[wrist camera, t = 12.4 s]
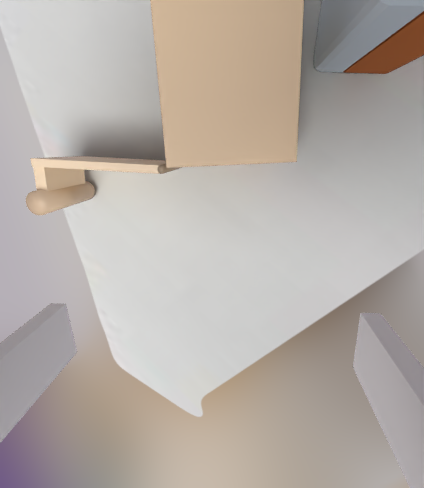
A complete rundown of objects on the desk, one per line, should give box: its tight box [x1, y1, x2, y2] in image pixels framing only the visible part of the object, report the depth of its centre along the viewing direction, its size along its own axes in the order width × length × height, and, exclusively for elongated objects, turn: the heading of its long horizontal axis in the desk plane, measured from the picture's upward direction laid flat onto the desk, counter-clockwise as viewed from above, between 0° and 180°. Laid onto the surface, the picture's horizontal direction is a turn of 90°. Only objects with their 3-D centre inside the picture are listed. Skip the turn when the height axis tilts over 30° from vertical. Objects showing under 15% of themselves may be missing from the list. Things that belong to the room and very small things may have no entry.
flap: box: [26, 156, 182, 215], centre depth 34 cm, size 6×15×10 cm, turn 87°
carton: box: [150, 0, 304, 168], centre depth 29 cm, size 12×14×12 cm
